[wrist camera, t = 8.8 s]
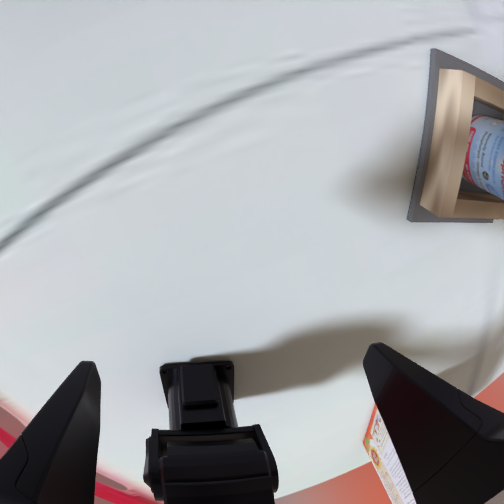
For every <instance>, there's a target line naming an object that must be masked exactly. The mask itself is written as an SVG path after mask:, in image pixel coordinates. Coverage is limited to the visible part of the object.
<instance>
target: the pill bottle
mask: <svg viewBox="0 0 504 504" xmlns="http://www.w3.org/2000/svg"><path fill="white" fill-rule="evenodd" d="M462 177H463V178H464V179H465V180H466V181H468V182H470V183H472V184H474V185H475V186H478V187H480V188H482V189H484V190H486V191H487V192H489V193H491V194H493V195H495V196H497V197H499V198H501V199H503V200H504V121H502V120H499V119H495V118H492V117H488V116H484V115H475V116H473V117H472V119H471V127H470V134H469V140H468V146H467V152H466V158H465V163H464V168H463V173H462Z"/></svg>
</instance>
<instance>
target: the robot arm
mask: <svg viewBox="0 0 504 504" xmlns="http://www.w3.org/2000/svg"><path fill="white" fill-rule="evenodd" d="M227 366H228V367H227ZM363 367H364V370H365V373H366V376H367V379H368V382H369V386H370V389H371V392H372V395H373V398H374V401H375V403H376V406H377V408H378V411H379V413H380V415H381V417H382V420H383V422H384V424H385V427H386V429H387V432H388V434H389V436H390V439H391V441H392V443H393V446H394V448H395V451H396V453H397V456H398V458H399V460H400V463H401V465H402V468H403V470H404V473H405V475H406V478H407V480H408V483H409V485H410V488H411V491H412V492H413V493H412V494H413V496H414V499H415V501H416V504H504V413H502V412H501V411H498V410H496V409H494V408H492V407H490V406H488V405H486V404H484V403H482V402H480V401H478V400H476V399H474V398H473V397H471V396H469V395H468V394H466V393H464V392H462V391H461V390H459V389H457V388H456V387H454V386H452V385H451V384H449V383H448V382H446V381H444V380H443V379H441V378H439V377H438V376H436V375H434V374H433V373H431V372H429V371H428V370H426V369H424V368H423V367H421V366H420V365H418V364H416V363H415V362H413V361H411V360H410V359H408V358H406V357H405V356H403V355H402V354H400V353H398V352H397V351H395V350H393V349H392V348H390V347H389V346H387V345H385V344H384V343H381V342H378V343H372V344H371V345H370V346H369V348H368V350H367V352H366V355H365V357H364V360H363ZM164 370H166V371H164ZM160 377H161V381H162V385H163V389H164V393H165V398H166V402H167V405H168V408H169V425H170V430H159V429H152V434H151V437H149V438H148V439H146V460H145V467H144V474H143V479H144V482H145V483H146V484H147V485H148V486H149V487H150V488H151V491H152V493H154V498H155V500H156V501H164V504H275V502H274V493H275V492H277V490H278V485H279V478H278V470H277V465H276V461H275V458H274V456H273V454H272V451H271V449H270V447H269V445H268V442H267V440H266V438H265V436H264V434H263V431H262V429H261V427H260V425H259V424H255V425H252V426H245V427H238V424H237V420H236V415H235V410H234V405H233V402H234V365H233V362H231V361H221V362H209V363H195V364H179V365H163V366H161V367H160ZM100 401H101V380H100V377H99V374H98V371H97V368H96V365H95V363H94V362H93V361H81V362H80V363H79V364H78V365H77V366H76V368H75V369H74V370H73V371H72V372H71V373H70V375H69V376H68V377H67V378H66V379H65V381H64V382H63V383H62V384H61V385H60V387H59V388H58V389H57V390H56V391H55V393H54V394H53V395H52V396H51V397H50V399H49V400H48V401H47V402H46V403H45V405H44V406H43V407H42V408H41V410H40V411H39V412H38V413H37V415H36V416H35V417H34V418H33V419H32V421H31V422H30V423H29V425H28V426H27V427H26V428H25V430H24V431H23V432H22V435H20V436H19V437H18V438H17V440H16V441H15V442H14V443H13V445H12V446H11V447H10V448H9V450H8V451H7V452H6V453H5V454H4V456H3V457H2V458H1V459H0V504H94V493H95V476H96V464H97V453H98V444H99V435H100Z"/></svg>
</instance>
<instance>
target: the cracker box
mask: <svg viewBox="0 0 504 504" xmlns="http://www.w3.org/2000/svg"><path fill="white" fill-rule="evenodd" d="M363 445H364V447H365V449H366V451H367V453H368V455H369V457H370V459H371V461H372V463H373V465H374V467H375V469H376V471H377V473H378V475H379V477H380V479H381V481H382V483H383V485H384V487H385V489H386V491H387V493H388V495H389V498H390V500H391V502H392V504H416V501H415V499H414V496H413V494H412V493H413V492H412V491H411V488H410V485H409V483H408V480H407V478H406V475H405V473H404V470H403V468H402V465H401V463H400V460H399V458H398V456H397V453H396V451H395V448H394V446H393V443H392V441H391V439H390V436H389V434H388V432H387V429H386V427H385V424H384V422H383V420H382V417H381V415H380V413H379V411H378V408H377V406H376V403H375V406H374V410H373V413H372V416H371V420H370V423H369V426H368V429H367V432H366V435H365V438H364V440H363Z"/></svg>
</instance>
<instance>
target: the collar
mask: <svg viewBox="0 0 504 504" xmlns="http://www.w3.org/2000/svg"><path fill="white" fill-rule="evenodd" d="M474 101H476V102H479V103H481V104H483V105H486V106H488V107H490V108H492V109H495V110H497V111H499V112H501V113H503V114H504V91H503V90H501V89H499V88H497V87H495V86H493V85H492V84H490V83H488V82H486V81H484V80H482V79H480V78H478V77H476V76H474V75H472V74H469V73H467V72H465V71H463V70H453V69H440V70H439V84H438V95H437V105H436V113H435V121H434V129H433V136H432V143H431V149H430V155H429V161H428V166H427V172H426V177H425V182H424V187H423V192H422V196H421V201H420V205H421V206H422V207H424V208H426V209H427V210H429V211H430V212H432V213H433V214H435V215H436V216H438V217H449V218H486V219H504V200H503V199H501V198H499V197H497V196H495V195H493V194H491V193H490V194H486V193H478V192H469V191H461V190H459V187H460V183H461V178H462V173H463V168H464V163H465V158H466V152H467V146H468V140H469V134H470V127H471V119H472V111H473V102H474ZM503 121H504V120H503Z"/></svg>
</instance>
